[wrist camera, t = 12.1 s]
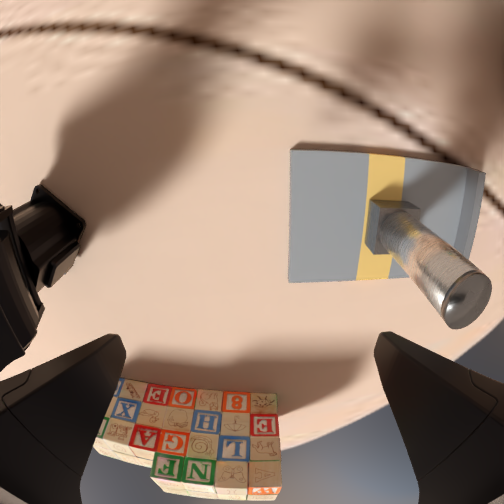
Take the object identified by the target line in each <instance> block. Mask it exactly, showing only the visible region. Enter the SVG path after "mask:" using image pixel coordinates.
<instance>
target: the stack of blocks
mask: <svg viewBox="0 0 504 504" xmlns="http://www.w3.org/2000/svg"><path fill="white" fill-rule="evenodd" d="M277 414H278V410H277V395H276V394H267V393H248V392H229V391H216V390H204V389H187V388H179V387H170V386H163V385H156V384H148V383H145V382H139V381H134V380H128V379H124V378H120V379H119V382H118V385H117V388H116V391H115V393H114V396H113V398H112V400H111V403H110V405H109V407H108V410H107V412H106V415H105V417H104V419H103V422H102V424H101V427H100V429H99V432H98V434H97V437H96V440H95V442H94V445H93V447H94V448H95V449H96V450H97V451H98V452H99V453H100V454H102V455H105V456H109V457H112V458H115V459H120V460H122V461H125V462H129V463H133V464H138V465H142V466H146V467H151V474H150V477H151V478H152V479H153V481H154V482H155V483H156V484H157V485H159V486H160V487H161V488H162V490H163V491H164V492H168V493H174V494H180V495H186V496H193V497H200V498H210V499H229V500H275V499H276V497H277V495H278V493H279V492H280V490H281V488H282V478H281V450H280V438H279V424H278V415H277Z"/></svg>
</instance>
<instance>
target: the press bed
mask: <svg viewBox="0 0 504 504" xmlns="http://www.w3.org/2000/svg"><path fill="white" fill-rule="evenodd" d="M485 174H486V173H484V172H481V171H479V170H476V169H473V168H470V167H466V166H461V165H456V164H450V163H445V162H438V161H432V160H426V159H418V158H411V157H403V156H394V155H385V154H375V153H363V152H349V151H331V150H300V149H290V222H289V261H288V281H289V283H301V282H329V281H352V280H372V279H390V278H406V277H409V275H408V274H407V273H406V272H405V271H404V270H403V268H402V267H401V266H400V265H399V264H398V263H397V261H396V260H395V259H394V258H393V257H392V256H391V255H390V254H382V255H373V253H372V252H371V251H370V250H369V248H368V247H367V246H366V245H365V243H364V242H365V234H366V226H367V217H368V208H369V200H392V201H409V202H410V203H412V204H414V205H415V206H417V207H418V208H420V209H421V215H420V222H421V223H422V224H424V225H425V226H426V227H428V228H429V229H430V230H432V231H433V232H434V233H436V234H437V235H438V236H440V237H441V238H442V239H443V240H445V241H446V242H447V243H449V244H450V245H451V246H452V247H453V248H455V249H456V250H457V251H458V252H460V253H461V254H462V255H463V256H464V257H466V258H467V259H468V260H469V256H470V252H471V249H472V245H473V241H474V237H475V232H476V228H477V223H478V218H479V213H480V208H481V202H482V196H483V189H484V182H485Z"/></svg>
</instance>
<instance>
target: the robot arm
mask: <svg viewBox="0 0 504 504" xmlns="http://www.w3.org/2000/svg"><path fill="white" fill-rule="evenodd" d="M38 189H39V191H38ZM79 223H80V224H81V226H80V225H79ZM85 226H86V224H85V221H84V220H83V219H82V218H81V217H79V216H78V215H77V214H76V213H74V212H73V211H72V210H71V209H69V208H68V207H67V206H66V205H65V204H63V203H62V202H61V201H60V200H58V199H57V198H56V197H55V196H54V195H52V194H51V193H50V192H49V191H48V190H47V189H45V188H44V187H43V186H42V185H37V186H35V188H34V191H33V194H32V197H31V201H29V202H27V203H25V204H23V205H21V206H20V207H18V208H16V209H14V210H13V208H12V205H11V206H6V207H4V206H2V205H1V204H0V372H1V371H2V370H3V369H4V368H5V367H6V366H7V365H8V364H10V363H11V362H12V361H14V360H16V359H18V358H20V357H22V356H24V355H25V350H26V349H27V348H28V347H29V345H30V344H31V342H32V340H33V339H34V337H35V336H36V334H37V330H36V329H37V327H38V324H39V322H40V319H41V317H42V314H43V312H44V310H45V308H44V305H43V303H42V302H41V301H40V298H39V296H38V292H39V291H40V290H41V289H42V288H43V287H44V286H46V287H47V288H50V287H52V286H53V285H54V284H55V283H56V282H57V281H58V280H59V279H60V278H61V277H62V276H63V275H64V274H66V273H67V272H68V270H69V269H70V268H71V267H72V266H73V264H74V261H75V258H76V256H77V253H78V251H79V248H80V244H79V241H80V239H81V236H82V234H83V231H84V229H85ZM374 358H375V361H376V365H377V368H378V372H379V375H380V379H381V383H382V386H383V389H384V392H385V394H386V397H387V399H388V402H389V404H390V407H391V409H392V412H393V414H394V417H395V419H396V422H397V425H398V427H399V430H400V433H401V435H402V438H403V441H404V443H405V446H406V449H407V452H408V455H409V458H410V460H411V464H412V467H413V469H414V473H415V475H416V479H417V481H418V485H419V492H420V493H419V502H418V504H504V383H501V382H499V381H496V380H493V379H491V378H489V377H486V376H484V375H482V374H479V373H477V372H475V371H473V370H471V369H469V370H468V368H466V367H464V366H462V365H459V364H457V363H455V362H453V361H451V360H449V359H447V358H445V357H443V356H441V355H439V354H437V353H434V352H432V351H430V350H428V349H426V348H424V347H422V346H420V345H418V344H416V343H414V342H412V341H410V340H407V339H405V338H403V337H401V336H399V335H397V334H395V333H393V332H390V331H388V332H381V333H380V334H379V336H378V339H377V342H376V345H375V349H374ZM125 359H126V350H125V348H124V345H123V343H122V340H121V338H120V336H119V335H118V334H107V335H104V336H102V337H100V338H98V339H96V340H94V341H92V342H89V343H87V344H85V345H83V346H81V347H79V348H76V349H74V350H72V351H70V352H68V353H65V354H63V355H61V356H59V357H57V358H54V359H52V360H50V361H48V362H46V363H43V364H41V365H39V366H37V367H35V368H32V370H31V369H29V370H27V371H25V372H23V373H20V374H18V375H15V376H13V377H11V378H8V379H5V380H3V381H0V504H82V501H81V495H80V481H81V476H82V475H83V472H84V469H85V466H86V464H87V461H88V458H89V455H90V453H91V450H92V447H93V445H94V442H95V440H96V437H97V434H98V432H99V429H100V427H101V424H102V422H103V419H104V417H105V415H106V412H107V410H108V407H109V405H110V403H111V400H112V398H113V396H114V393H115V391H116V388H117V385H118V382H119V379H120V376H121V372H122V369H123V366H124V363H125Z"/></svg>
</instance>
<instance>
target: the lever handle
mask: <svg viewBox="0 0 504 504" xmlns="http://www.w3.org/2000/svg"><path fill="white" fill-rule="evenodd" d="M420 215H421V209H420V208H418V207H417V206H415V205H414V204H412V203H410V202H409V201H392V200H369V208H368V217H367V226H366V234H365V242H364V243H365V245H366V246H367V247H368V248H369V250H370V251H371V252H372V253H373V255H382V254H390V255H391V256H392V257H393V258H394V259H395V260H396V261H397V263H398V264H399V265H400V266H401V267H402V268H403V270H404V271H405V272H406V273H407V274H408V275H409V277H410V278H411V279H412V280H413V281H414V283H415V284H416V285H417V286H418V288H419V289H420V290H421V291H422V293H423V294H424V295H425V296H426V298H427V299H428V300H429V301H430V303H431V304H432V305H433V307H434V308H435V309H436V310H437V312H438V313H439V314H440V316H441V317H442V318H443V320H444V321H445V322H446V324H447V325H448V326H449V327H450V328H452V329H461V328H464V327H466V326H468V325H469V324H471V323H472V322H473V321H474V320H476V319H477V318H478V317H479V315H480V314H481V313H482V312H483V310H484V309H485V307H486V305H487V304H488V301H489V299H490V296H491V291H492V284H491V281H490V279H489V278H488V277H487V276H486V275H485V274H484V273H483V272H482V271H481V270H479V269H478V268H477V267H476V266H475V265H474V264H473V263H471V262H470V261H469V260H468V259H467V258H466V257H464V256H463V255H462V254H461V253H460V252H458V251H457V250H456V249H455V248H453V247H452V246H451V245H450V244H449V243H447V242H446V241H445V240H443V239H442V238H441V237H440V236H438V235H437V234H436V233H434V232H433V231H432V230H430V229H429V228H428V227H426V226H425V225H424V224H422V223H421V222H420Z"/></svg>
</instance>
